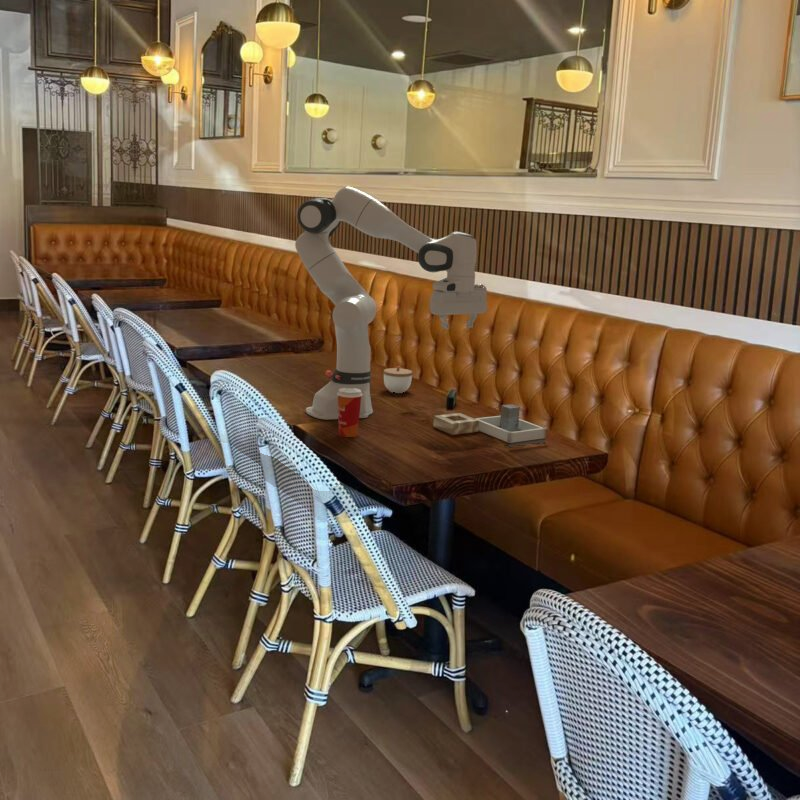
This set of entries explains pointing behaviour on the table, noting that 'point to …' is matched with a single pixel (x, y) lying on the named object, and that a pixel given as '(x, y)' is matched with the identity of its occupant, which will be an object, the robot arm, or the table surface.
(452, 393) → the mobile phone
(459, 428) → the socket block
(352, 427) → the paper cup
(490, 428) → the grey tray
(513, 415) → the pin
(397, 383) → the lidded jar
